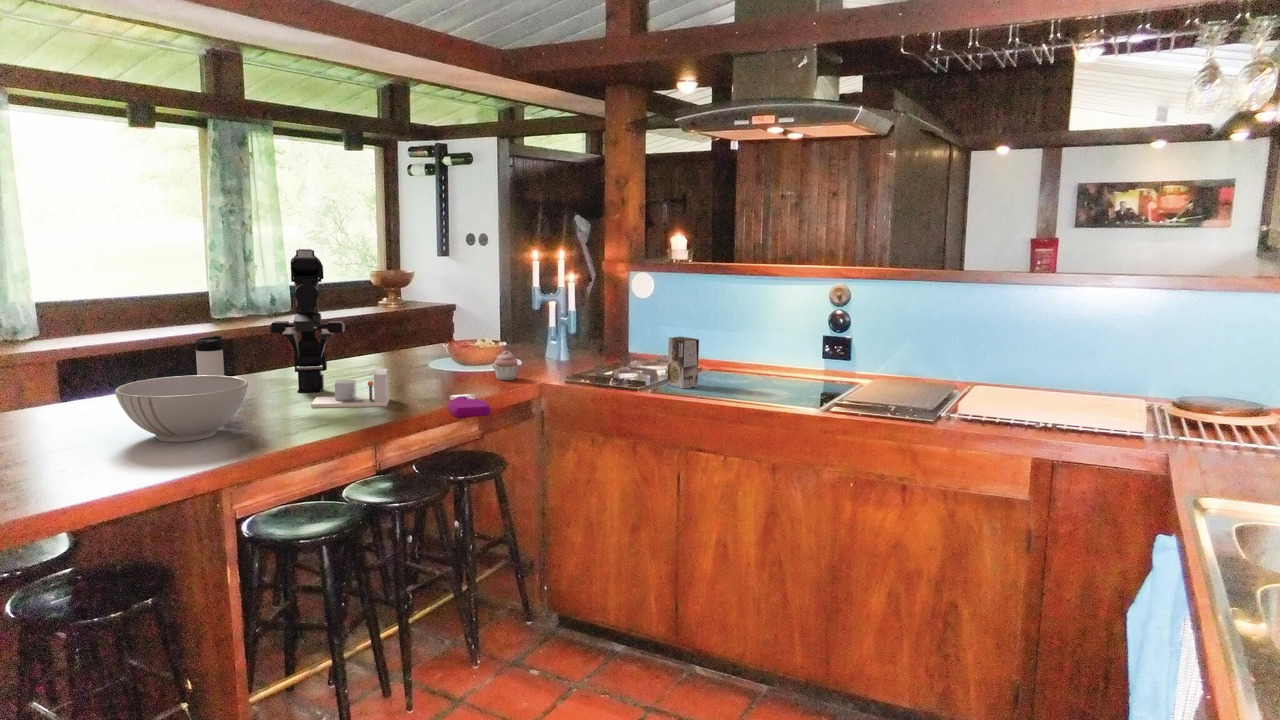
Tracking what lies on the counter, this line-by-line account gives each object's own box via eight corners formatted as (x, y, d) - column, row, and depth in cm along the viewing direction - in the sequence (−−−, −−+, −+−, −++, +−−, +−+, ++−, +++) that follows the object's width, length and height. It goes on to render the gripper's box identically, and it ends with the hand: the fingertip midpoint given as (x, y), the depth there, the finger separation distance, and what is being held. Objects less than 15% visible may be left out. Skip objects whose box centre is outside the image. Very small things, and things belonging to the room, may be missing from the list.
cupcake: (487, 380, 266) (487, 351, 264) (498, 376, 275) (498, 347, 273) (514, 382, 264) (514, 352, 262) (524, 377, 273) (524, 349, 271)
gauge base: (311, 407, 219) (309, 375, 217) (316, 400, 228) (315, 369, 227) (386, 405, 224) (386, 374, 222) (389, 398, 233) (388, 368, 232)
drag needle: (367, 400, 223) (367, 381, 223) (368, 398, 226) (367, 380, 225) (373, 400, 224) (373, 381, 223) (374, 398, 226) (373, 380, 225)
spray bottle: (452, 419, 211) (442, 402, 234) (493, 417, 215) (479, 400, 238) (452, 408, 211) (441, 392, 234) (493, 406, 215) (479, 390, 238)
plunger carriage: (333, 402, 221) (333, 385, 220) (337, 396, 229) (337, 380, 228) (352, 402, 222) (352, 385, 221) (355, 396, 230) (355, 379, 229)
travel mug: (232, 410, 213) (228, 336, 210) (212, 415, 207) (207, 339, 204) (214, 408, 215) (210, 335, 212) (194, 412, 209) (189, 337, 206)
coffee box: (698, 387, 264) (700, 339, 261) (682, 389, 260) (684, 340, 258) (681, 382, 271) (683, 336, 269) (666, 384, 267) (667, 336, 265)
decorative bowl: (107, 455, 169) (103, 399, 167) (130, 426, 193) (126, 378, 192) (247, 445, 180) (244, 392, 178) (252, 419, 204) (250, 373, 202)
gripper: (264, 304, 211) (267, 362, 213) (339, 304, 215) (340, 361, 217) (273, 301, 221) (275, 356, 224) (344, 301, 226) (345, 355, 228)
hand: (309, 357), depth 223 cm, fingers open, 6 cm apart
